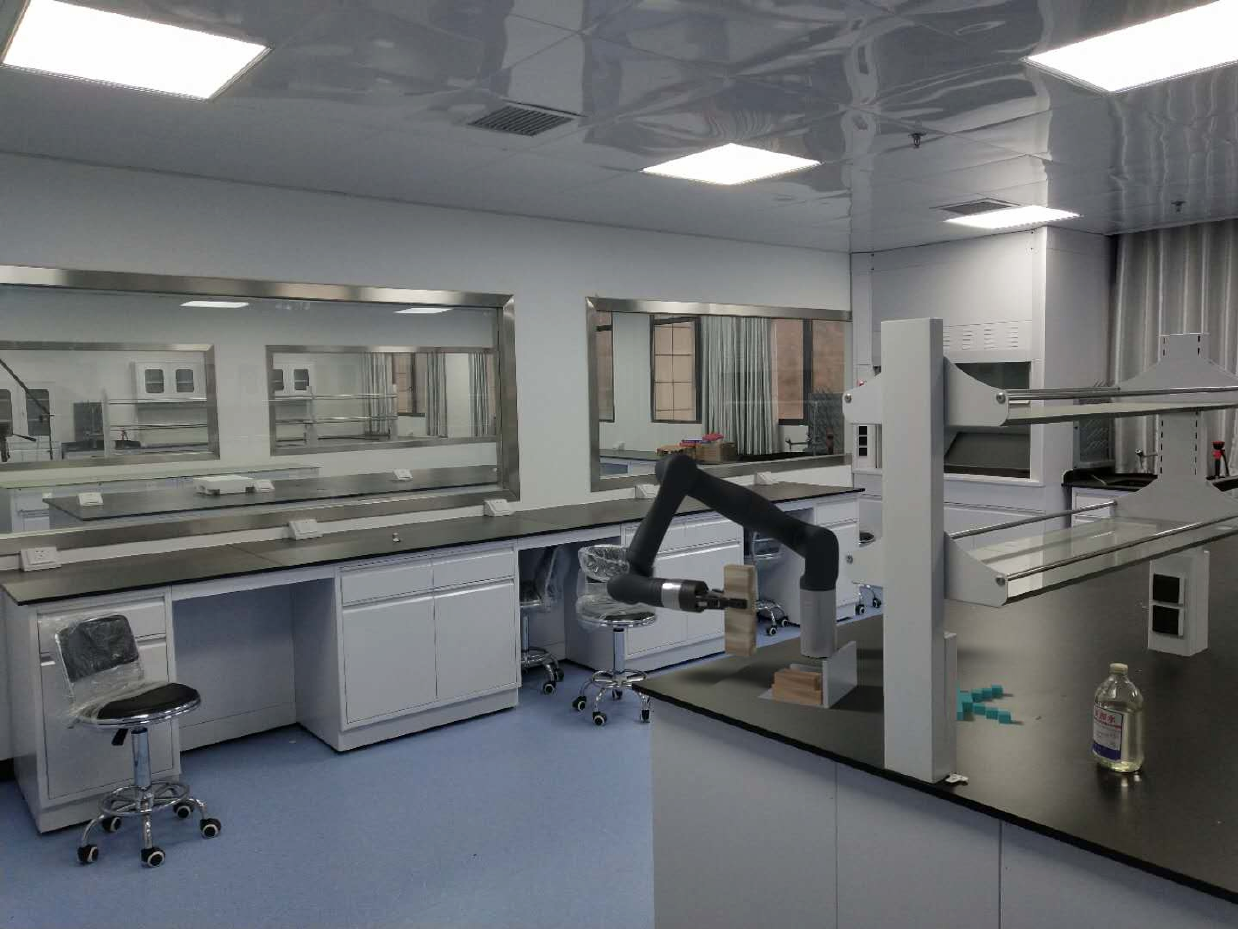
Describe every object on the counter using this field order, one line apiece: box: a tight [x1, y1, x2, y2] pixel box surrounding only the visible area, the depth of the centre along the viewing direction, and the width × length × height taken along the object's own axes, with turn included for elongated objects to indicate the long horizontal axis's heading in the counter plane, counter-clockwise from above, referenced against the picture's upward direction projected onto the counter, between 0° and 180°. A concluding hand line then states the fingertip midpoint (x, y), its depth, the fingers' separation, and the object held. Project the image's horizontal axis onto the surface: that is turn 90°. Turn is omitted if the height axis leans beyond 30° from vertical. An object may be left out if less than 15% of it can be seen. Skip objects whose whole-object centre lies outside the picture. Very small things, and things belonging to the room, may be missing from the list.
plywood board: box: [723, 563, 758, 658], centre depth 208 cm, size 4×6×20 cm, turn 56°
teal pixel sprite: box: [956, 682, 1012, 725], centre depth 195 cm, size 20×2×20 cm
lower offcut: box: [771, 682, 823, 704], centre depth 199 cm, size 5×11×2 cm, turn 57°
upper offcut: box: [773, 667, 822, 691], centre depth 199 cm, size 5×9×2 cm, turn 57°
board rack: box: [757, 640, 858, 709], centre depth 202 cm, size 18×16×12 cm
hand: (751, 602), depth 206 cm, fingers closed on plywood board, 4 cm apart
